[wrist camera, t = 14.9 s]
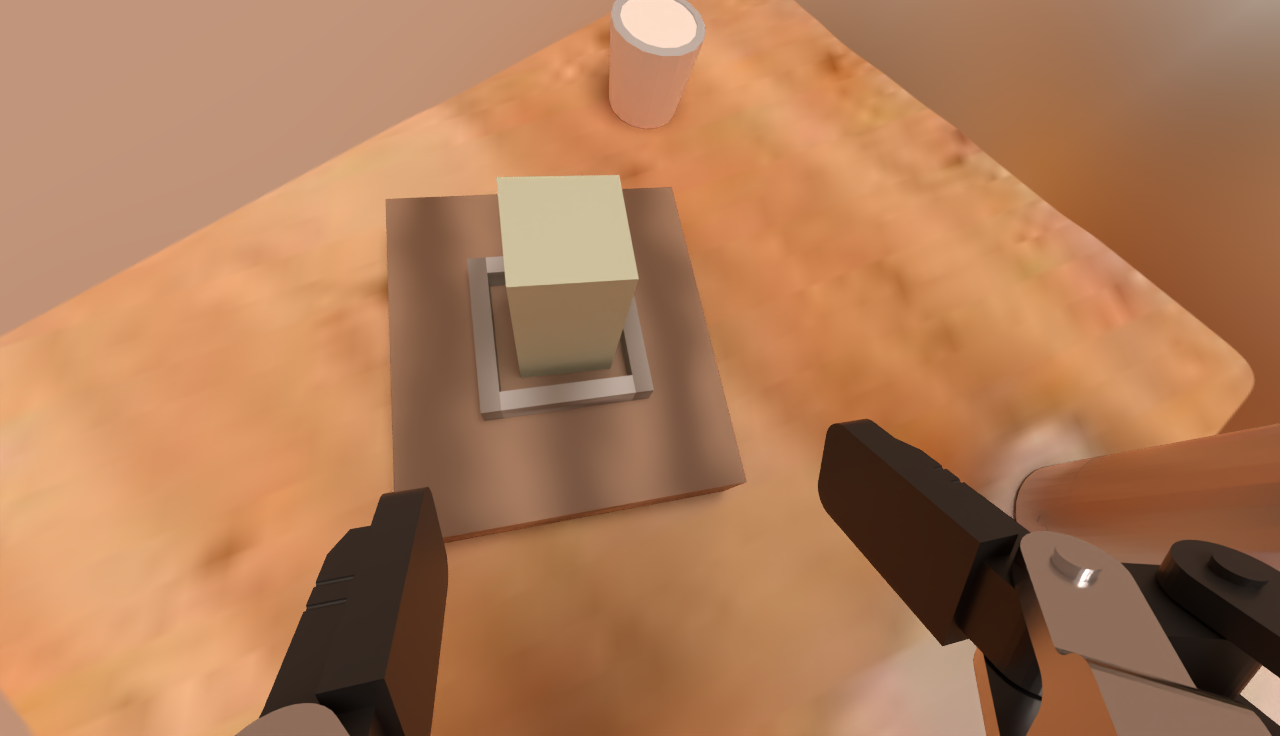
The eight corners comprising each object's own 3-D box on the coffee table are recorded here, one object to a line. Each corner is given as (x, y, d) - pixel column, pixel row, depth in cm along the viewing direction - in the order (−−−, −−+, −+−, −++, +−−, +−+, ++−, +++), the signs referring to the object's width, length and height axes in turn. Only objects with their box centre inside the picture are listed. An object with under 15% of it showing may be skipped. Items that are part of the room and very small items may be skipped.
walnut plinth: (659, 223, 38) (676, 171, 33) (723, 490, 31) (756, 477, 26) (403, 238, 34) (377, 181, 29) (416, 547, 27) (386, 545, 22)
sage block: (598, 291, 30) (619, 174, 21) (610, 368, 29) (638, 279, 19) (513, 297, 29) (496, 177, 20) (520, 377, 28) (506, 287, 18)
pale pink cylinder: (589, 114, 40) (596, 30, 34) (618, 61, 43) (630, -27, 37) (668, 146, 41) (690, 68, 34) (692, 91, 43) (717, 9, 37)
